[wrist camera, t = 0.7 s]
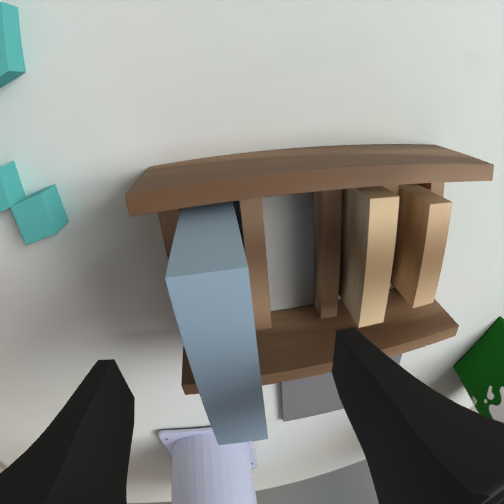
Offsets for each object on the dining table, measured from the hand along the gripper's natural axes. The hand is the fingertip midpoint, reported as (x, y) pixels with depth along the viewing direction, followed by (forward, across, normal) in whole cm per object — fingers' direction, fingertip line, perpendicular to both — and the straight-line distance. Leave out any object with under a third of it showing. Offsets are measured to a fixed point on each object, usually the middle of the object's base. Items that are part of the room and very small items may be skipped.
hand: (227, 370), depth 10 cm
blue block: (+8, 0, 0) cm, 9 cm away
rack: (+8, -5, 0) cm, 10 cm away
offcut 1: (+9, -8, 0) cm, 11 cm away
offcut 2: (+9, -11, 0) cm, 14 cm away
